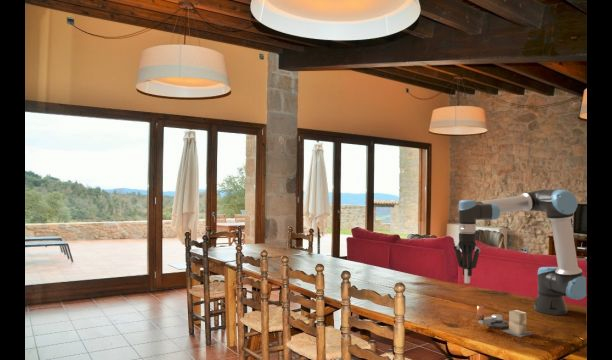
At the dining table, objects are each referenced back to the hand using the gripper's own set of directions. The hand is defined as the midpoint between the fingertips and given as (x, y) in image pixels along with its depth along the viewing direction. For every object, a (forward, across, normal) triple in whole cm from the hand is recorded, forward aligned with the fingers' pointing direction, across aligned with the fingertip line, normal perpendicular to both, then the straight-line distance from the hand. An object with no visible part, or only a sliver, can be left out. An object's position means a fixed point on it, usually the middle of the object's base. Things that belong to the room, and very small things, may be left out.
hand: (467, 282), depth 209 cm
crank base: (+20, +9, +11) cm, 25 cm away
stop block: (+20, +20, +8) cm, 29 cm away
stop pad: (+20, +20, +8) cm, 30 cm away
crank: (+18, +8, +6) cm, 21 cm away
